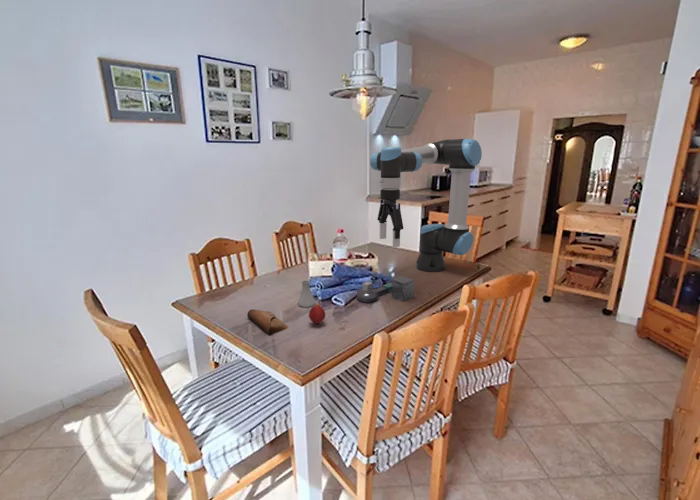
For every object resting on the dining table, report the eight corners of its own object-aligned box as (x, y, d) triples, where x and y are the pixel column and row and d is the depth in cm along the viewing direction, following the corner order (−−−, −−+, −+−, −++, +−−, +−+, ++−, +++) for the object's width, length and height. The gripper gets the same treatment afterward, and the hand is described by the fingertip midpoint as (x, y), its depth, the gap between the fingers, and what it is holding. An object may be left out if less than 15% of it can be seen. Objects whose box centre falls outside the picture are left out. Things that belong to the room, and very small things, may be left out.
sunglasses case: (290, 327, 128) (281, 315, 124) (276, 342, 125) (266, 330, 121) (267, 311, 141) (258, 300, 137) (253, 324, 138) (244, 313, 135)
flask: (308, 299, 152) (307, 277, 149) (319, 304, 147) (318, 281, 144) (294, 304, 147) (293, 281, 144) (305, 309, 142) (304, 286, 139)
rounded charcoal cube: (401, 293, 157) (402, 275, 155) (413, 297, 152) (414, 279, 150) (391, 297, 153) (391, 279, 151) (403, 301, 148) (403, 283, 146)
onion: (312, 329, 127) (311, 308, 125) (307, 322, 132) (306, 302, 130) (327, 325, 129) (327, 305, 127) (322, 319, 134) (321, 299, 132)
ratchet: (390, 284, 167) (390, 270, 165) (405, 290, 160) (405, 275, 158) (352, 298, 152) (352, 283, 150) (367, 305, 145) (367, 288, 144)
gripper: (370, 186, 148) (369, 236, 154) (394, 192, 125) (392, 251, 131) (386, 185, 150) (386, 234, 156) (413, 191, 127) (411, 249, 133)
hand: (389, 242), depth 143 cm, fingers open, 13 cm apart
